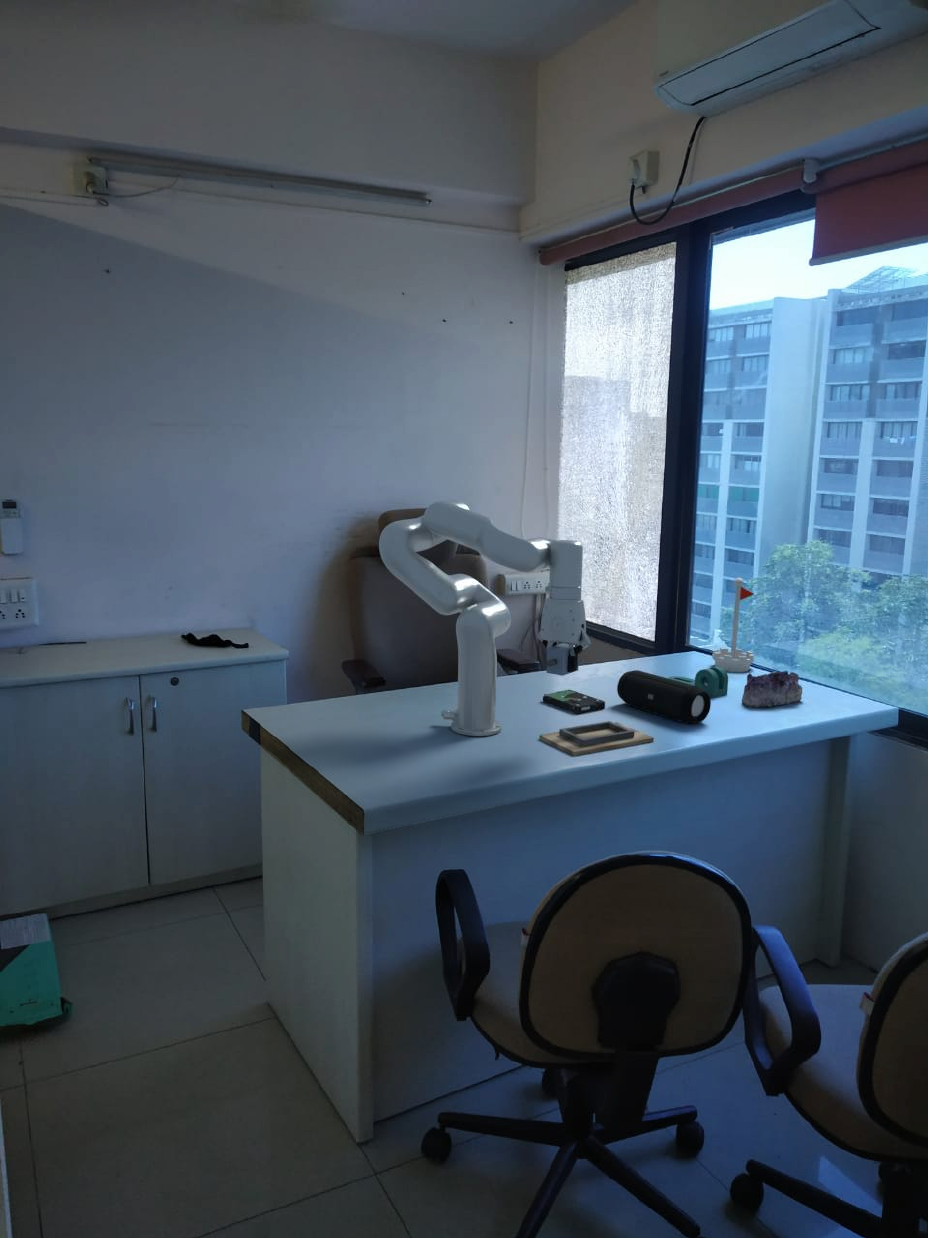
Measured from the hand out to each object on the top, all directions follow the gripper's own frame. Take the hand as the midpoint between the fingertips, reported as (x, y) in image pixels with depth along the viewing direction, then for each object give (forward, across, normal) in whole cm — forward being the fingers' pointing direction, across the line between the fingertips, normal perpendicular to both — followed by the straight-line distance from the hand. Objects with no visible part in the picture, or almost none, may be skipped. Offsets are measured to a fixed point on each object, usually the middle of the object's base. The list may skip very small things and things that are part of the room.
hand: (562, 668), depth 217 cm
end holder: (+18, +6, +8) cm, 21 cm away
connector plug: (+1, 0, 0) cm, 1 cm away
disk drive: (+19, -15, +30) cm, 39 cm away
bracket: (+19, +3, +70) cm, 72 cm away
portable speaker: (+19, +7, +40) cm, 45 cm away
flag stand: (+19, 0, +104) cm, 106 cm away
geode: (+19, +25, +72) cm, 78 cm away
